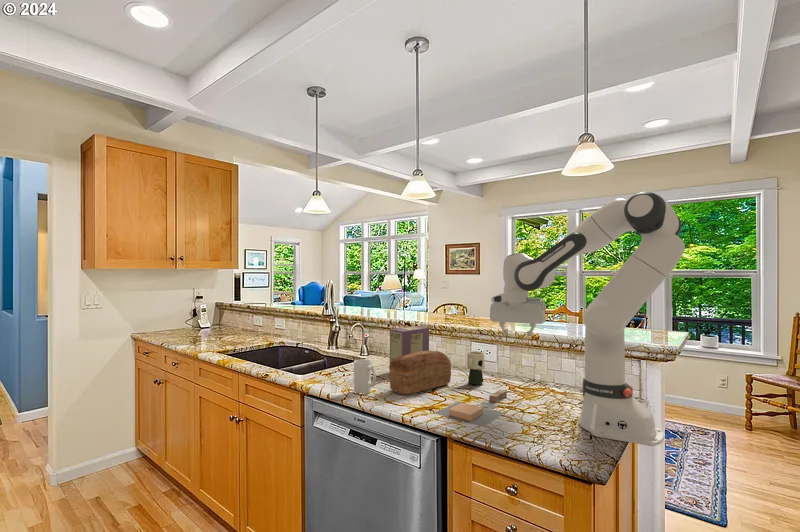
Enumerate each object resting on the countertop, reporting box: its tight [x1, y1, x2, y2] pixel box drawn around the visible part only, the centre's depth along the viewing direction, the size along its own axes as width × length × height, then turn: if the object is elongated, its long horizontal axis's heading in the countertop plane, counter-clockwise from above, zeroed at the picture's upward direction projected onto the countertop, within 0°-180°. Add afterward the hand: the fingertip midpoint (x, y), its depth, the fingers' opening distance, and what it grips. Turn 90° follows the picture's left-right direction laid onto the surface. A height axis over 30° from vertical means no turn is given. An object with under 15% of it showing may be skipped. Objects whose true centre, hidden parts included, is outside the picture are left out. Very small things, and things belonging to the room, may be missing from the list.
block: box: [449, 402, 484, 421], centre depth 134 cm, size 8×2×8 cm
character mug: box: [466, 350, 486, 386], centre depth 172 cm, size 11×7×13 cm, turn 145°
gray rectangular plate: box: [434, 401, 506, 427], centre depth 136 cm, size 18×15×1 cm
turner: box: [477, 389, 508, 410], centre depth 148 cm, size 15×6×3 cm, turn 141°
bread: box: [388, 350, 452, 395], centre depth 167 cm, size 12×28×14 cm, turn 130°
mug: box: [353, 358, 377, 394], centre depth 160 cm, size 10×7×12 cm, turn 53°
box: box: [389, 325, 430, 364], centre depth 193 cm, size 17×9×20 cm, turn 133°
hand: (517, 335), depth 153 cm, fingers open, 8 cm apart
